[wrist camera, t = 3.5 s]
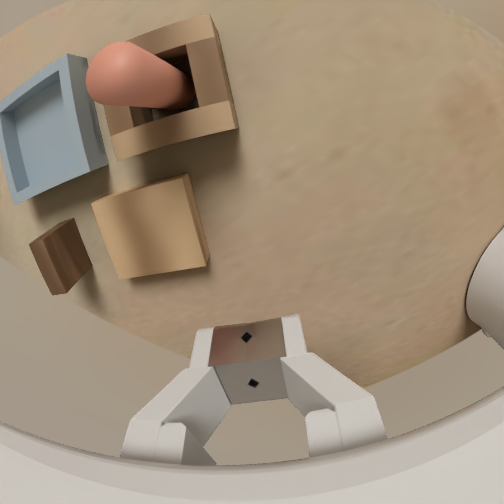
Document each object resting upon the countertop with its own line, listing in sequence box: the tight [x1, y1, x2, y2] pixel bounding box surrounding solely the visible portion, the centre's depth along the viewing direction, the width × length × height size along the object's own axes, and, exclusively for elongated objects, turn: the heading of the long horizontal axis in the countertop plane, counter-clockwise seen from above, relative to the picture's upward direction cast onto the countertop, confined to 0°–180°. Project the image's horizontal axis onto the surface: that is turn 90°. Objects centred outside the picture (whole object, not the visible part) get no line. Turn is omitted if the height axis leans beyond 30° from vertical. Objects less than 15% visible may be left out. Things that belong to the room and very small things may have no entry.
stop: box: [29, 218, 92, 295], centre depth 22 cm, size 2×5×5 cm, turn 11°
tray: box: [0, 54, 108, 206], centre depth 18 cm, size 10×10×3 cm
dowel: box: [86, 41, 195, 110], centre depth 14 cm, size 3×3×10 cm
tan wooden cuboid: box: [91, 173, 210, 279], centre depth 22 cm, size 8×7×2 cm
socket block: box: [104, 14, 239, 161], centre depth 16 cm, size 8×8×4 cm
